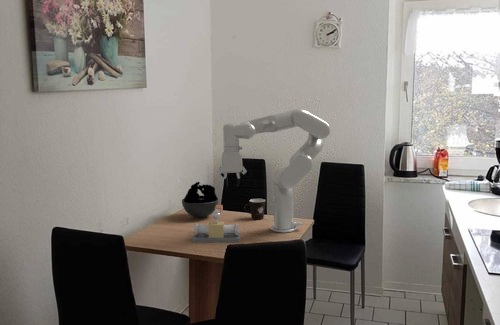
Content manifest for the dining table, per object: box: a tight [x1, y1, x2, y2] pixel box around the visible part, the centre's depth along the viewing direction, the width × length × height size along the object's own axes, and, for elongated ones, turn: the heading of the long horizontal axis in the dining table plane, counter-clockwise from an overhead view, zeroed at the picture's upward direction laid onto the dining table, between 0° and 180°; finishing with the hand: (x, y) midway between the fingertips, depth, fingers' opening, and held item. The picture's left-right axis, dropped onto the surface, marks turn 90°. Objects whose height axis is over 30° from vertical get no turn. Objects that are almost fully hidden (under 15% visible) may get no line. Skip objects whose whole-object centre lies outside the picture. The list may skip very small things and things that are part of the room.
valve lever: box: [212, 204, 224, 219], centre depth 259 cm, size 3×18×3 cm, turn 178°
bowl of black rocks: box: [181, 181, 219, 219], centre depth 294 cm, size 20×20×19 cm
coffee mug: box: [243, 198, 266, 221], centre depth 290 cm, size 12×9×10 cm
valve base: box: [191, 218, 242, 243], centre depth 253 cm, size 22×10×10 cm, turn 88°
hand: (232, 186), depth 261 cm, fingers open, 4 cm apart
